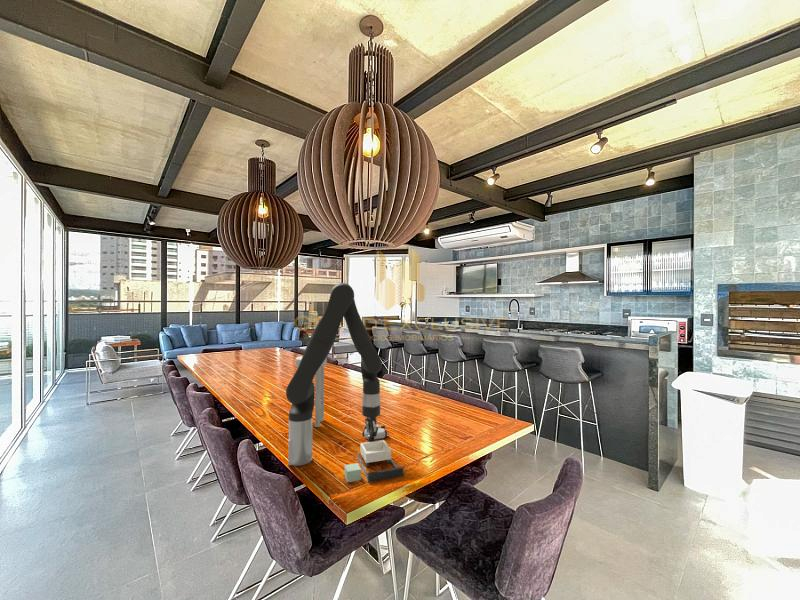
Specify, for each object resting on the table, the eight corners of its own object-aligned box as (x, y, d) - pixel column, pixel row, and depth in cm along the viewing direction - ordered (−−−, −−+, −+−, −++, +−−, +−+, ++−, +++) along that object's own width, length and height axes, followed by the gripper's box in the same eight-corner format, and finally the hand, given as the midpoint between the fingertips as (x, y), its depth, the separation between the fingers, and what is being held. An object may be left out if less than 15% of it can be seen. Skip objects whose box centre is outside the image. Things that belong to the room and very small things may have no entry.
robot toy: (362, 432, 166) (361, 443, 151) (362, 423, 166) (361, 432, 152) (387, 432, 167) (388, 442, 152) (387, 422, 167) (388, 432, 152)
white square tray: (365, 468, 126) (365, 453, 126) (360, 456, 135) (360, 443, 135) (391, 464, 129) (391, 450, 129) (383, 453, 139) (383, 440, 139)
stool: (291, 429, 168) (292, 359, 168) (300, 418, 183) (300, 355, 183) (322, 429, 168) (323, 359, 168) (328, 418, 184) (328, 354, 184)
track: (368, 485, 116) (368, 474, 116) (355, 458, 137) (355, 448, 137) (403, 479, 120) (403, 468, 120) (385, 453, 141) (385, 443, 141)
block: (347, 486, 116) (347, 471, 116) (344, 478, 121) (344, 465, 121) (361, 483, 118) (361, 469, 118) (358, 476, 123) (358, 462, 123)
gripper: (358, 399, 144) (358, 440, 144) (366, 409, 131) (366, 453, 131) (375, 398, 146) (375, 437, 146) (384, 407, 134) (384, 450, 134)
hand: (371, 445), depth 139 cm, fingers closed
